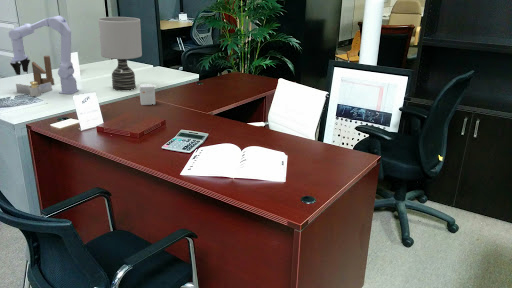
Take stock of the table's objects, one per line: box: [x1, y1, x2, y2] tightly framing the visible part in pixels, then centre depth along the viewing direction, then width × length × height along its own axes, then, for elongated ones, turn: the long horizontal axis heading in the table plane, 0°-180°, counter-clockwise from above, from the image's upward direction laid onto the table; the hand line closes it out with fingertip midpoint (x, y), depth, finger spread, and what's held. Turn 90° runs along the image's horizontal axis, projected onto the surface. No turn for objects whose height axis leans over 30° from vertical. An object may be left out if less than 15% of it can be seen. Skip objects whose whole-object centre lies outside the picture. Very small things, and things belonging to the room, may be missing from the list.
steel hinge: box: [15, 82, 53, 97], centre depth 262 cm, size 16×16×5 cm
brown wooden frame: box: [31, 55, 55, 86], centre depth 277 cm, size 4×11×18 cm, turn 100°
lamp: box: [97, 16, 143, 91], centre depth 273 cm, size 24×24×42 cm
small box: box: [139, 83, 156, 106], centre depth 251 cm, size 8×6×10 cm
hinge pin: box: [29, 80, 38, 88], centre depth 257 cm, size 4×4×8 cm
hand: (21, 73), depth 262 cm, fingers open, 7 cm apart
